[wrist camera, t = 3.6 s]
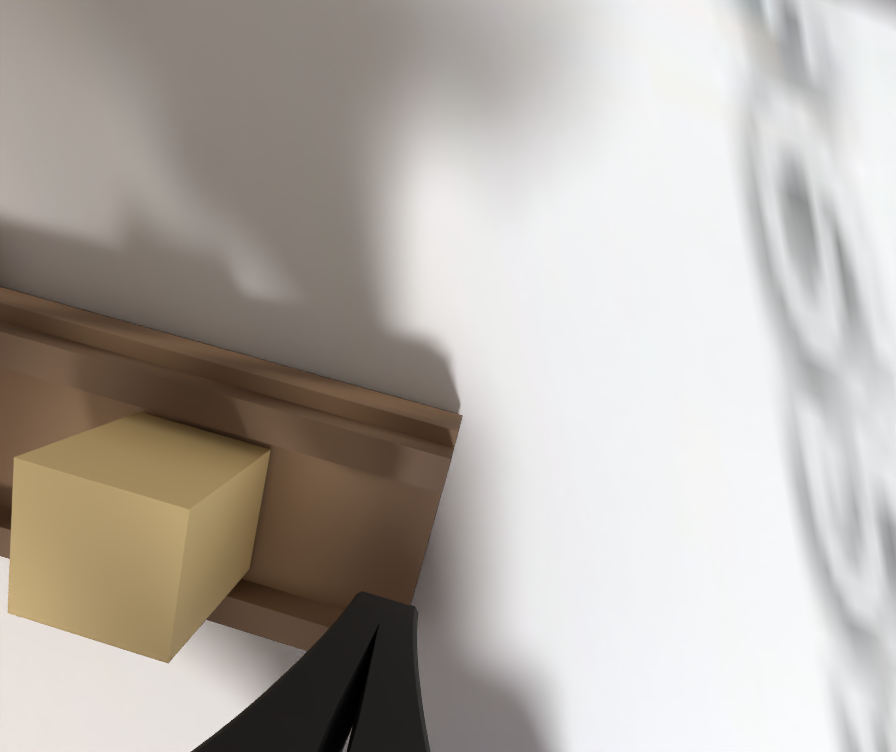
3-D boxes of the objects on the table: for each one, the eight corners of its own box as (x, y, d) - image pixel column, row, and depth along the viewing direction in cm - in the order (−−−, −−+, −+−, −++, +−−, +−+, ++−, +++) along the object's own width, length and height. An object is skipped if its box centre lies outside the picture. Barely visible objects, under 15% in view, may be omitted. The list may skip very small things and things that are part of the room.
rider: (270, 449, 13) (190, 509, 9) (249, 568, 14) (168, 663, 10) (139, 411, 13) (13, 457, 10) (127, 531, 14) (7, 612, 11)
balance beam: (478, 359, 13) (474, 376, 11) (391, 673, 16) (372, 743, 14) (-303, 146, 15) (-463, 120, 12) (-267, 470, 17) (-393, 501, 15)
